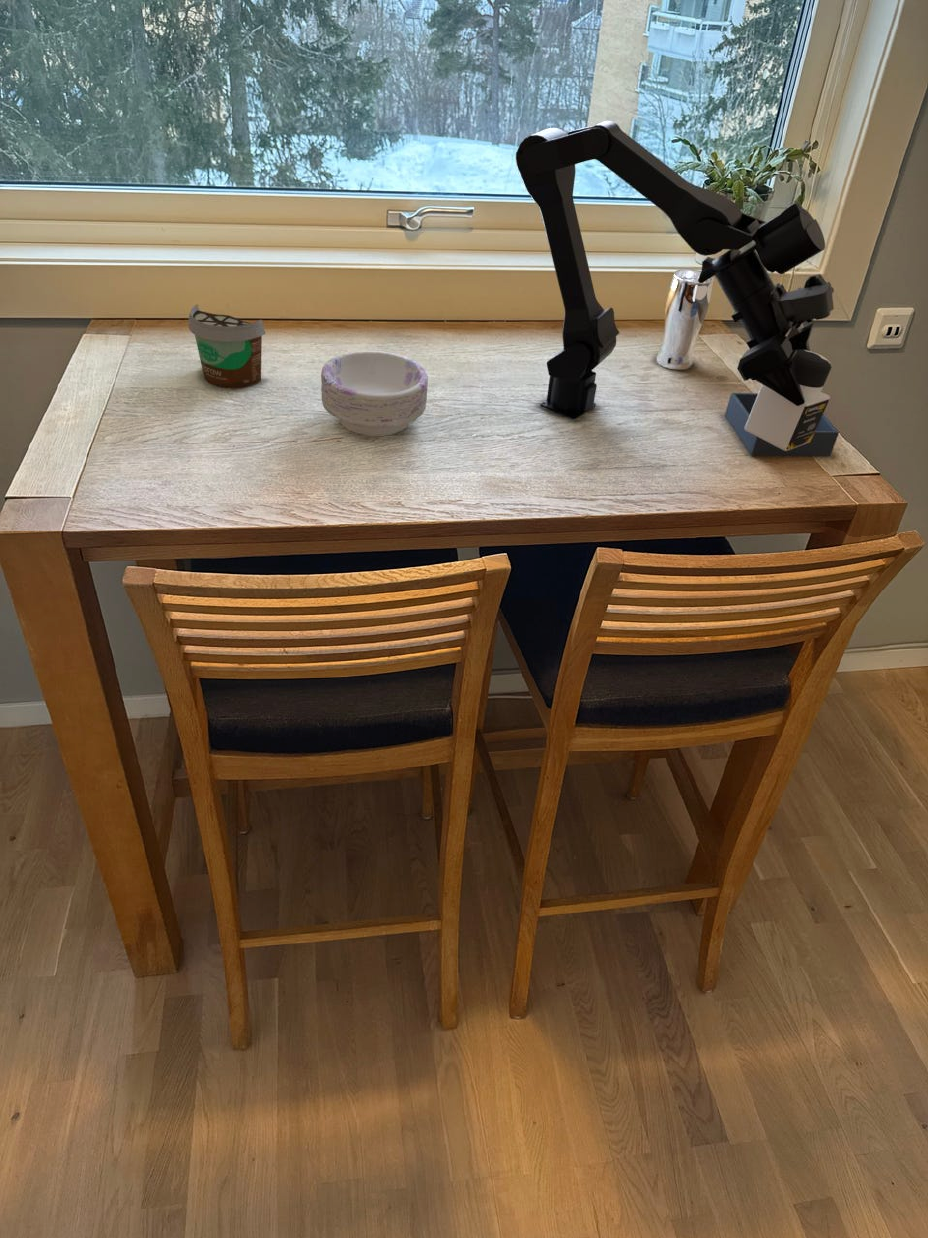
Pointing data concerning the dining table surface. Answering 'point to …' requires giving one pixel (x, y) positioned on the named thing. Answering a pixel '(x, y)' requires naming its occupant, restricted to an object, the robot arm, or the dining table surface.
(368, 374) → the paper bowls
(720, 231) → the robot arm
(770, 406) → the medicine bottle
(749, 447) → the caddy
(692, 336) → the silver tumbler
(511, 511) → the dining table surface
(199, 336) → the food container
